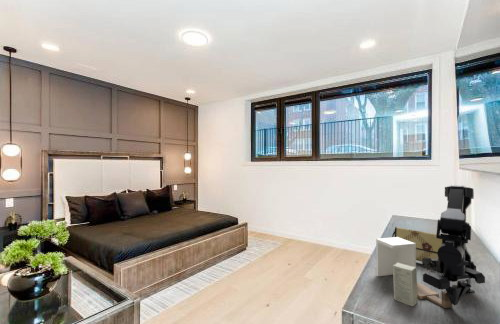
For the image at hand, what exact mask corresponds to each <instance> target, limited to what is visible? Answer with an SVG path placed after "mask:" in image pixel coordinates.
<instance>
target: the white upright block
mask: <svg viewBox="0 0 500 324" xmlns="http://www.w3.org/2000/svg"><path fill="white" fill-rule="evenodd" d="M375 244H376V247H375V248H376V250H375V251H376V255H375V256H376V276H377V277H382V276H383V277H385V276H393V265H394V264H396V263H397V262H398V263H402V264H406V265H409V266H413V267H416V268H417V264H416V263H417V260H416V243H413V242H410V241H408V240H405V239H402V238H399V237H395V236H394V237H392V236H391V237H380V238H375Z"/></svg>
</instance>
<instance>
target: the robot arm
mask: <svg viewBox="0 0 500 324" xmlns="http://www.w3.org/2000/svg"><path fill="white" fill-rule="evenodd" d="M444 197H445V198H447V206H446V210H444V211H443V212H441V214H440V218H437V223H436V225H437V226H436V233H435V234H436V238H438V239H442V244H441V246H440V247H439V249H438V252H437V254H438V259H431V258H422V262H421V263H422V265H423V266H422V267H423V268H426V269H427V271H430V270H434V271H432V272H425V273H423V274H422V281H423V282H424V283H426V284H428V285H430V286H431V287H434V288H435V289H437V290H441V291H446V292H447V294H448V297H449V299H450V302H451V304H452V306H456V305H458V303H459V302H460V301H461V299H462V298H463V297H464V295H467V294H473V293H476V291H475V290H473V289H471V288H472V285H471V279H474V281H475V282H476V284H484V283H486V277H485V275H484V274H483V273H482V272H480V271H478V270H477V266H476V265H475V263H474V261H472V255H471V254H470V253H469V251H468V248H467V244H469V241H472V239H471V238H472V226H471V225H470V223H469V222H467V210H468V208H469V207H470V206H471V204H472V200H474V197H475V193H474V188H471V187H470V186H464V185H456V184H454V185H453V184H450V185H448V186H445V187H444ZM466 248H467V249H466ZM435 271H436V272H435ZM441 274H442V275H441Z"/></svg>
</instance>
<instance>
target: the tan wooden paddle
mask: <svg viewBox="0 0 500 324" xmlns="http://www.w3.org/2000/svg"><path fill="white" fill-rule="evenodd" d="M417 299H420V300H425V299H427V300H429V301H430V302H432V303H434V304H436V305H438V306H440V307H441V308H444V309H449V308H453V304H451V302H450V299H449V297H448V294H447V292H446V290H441V298H440V293H439V292H437V291H435V290H433V289H431V288H429V287H428V286H425V285H424V284H422V283H420V282H417Z"/></svg>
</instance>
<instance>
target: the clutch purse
mask: <svg viewBox="0 0 500 324" xmlns="http://www.w3.org/2000/svg"><path fill="white" fill-rule="evenodd" d="M436 234H437V233H433V232H427V231H420V230H416V229H410V228H403V227H397V226H395V227H394V230H393V233H392V235H391V237H399V238H402V239H405V240H408V241H410V242H413V243H416V265H418V266H420V267H423V264H421V263H422V258H431V259H438V254H437V252H438V249H439V247H440V246H441V244H442V239H438V238H436ZM466 249H467V250H468V248H467V247H466ZM417 261H418V262H421V263H417Z"/></svg>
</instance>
